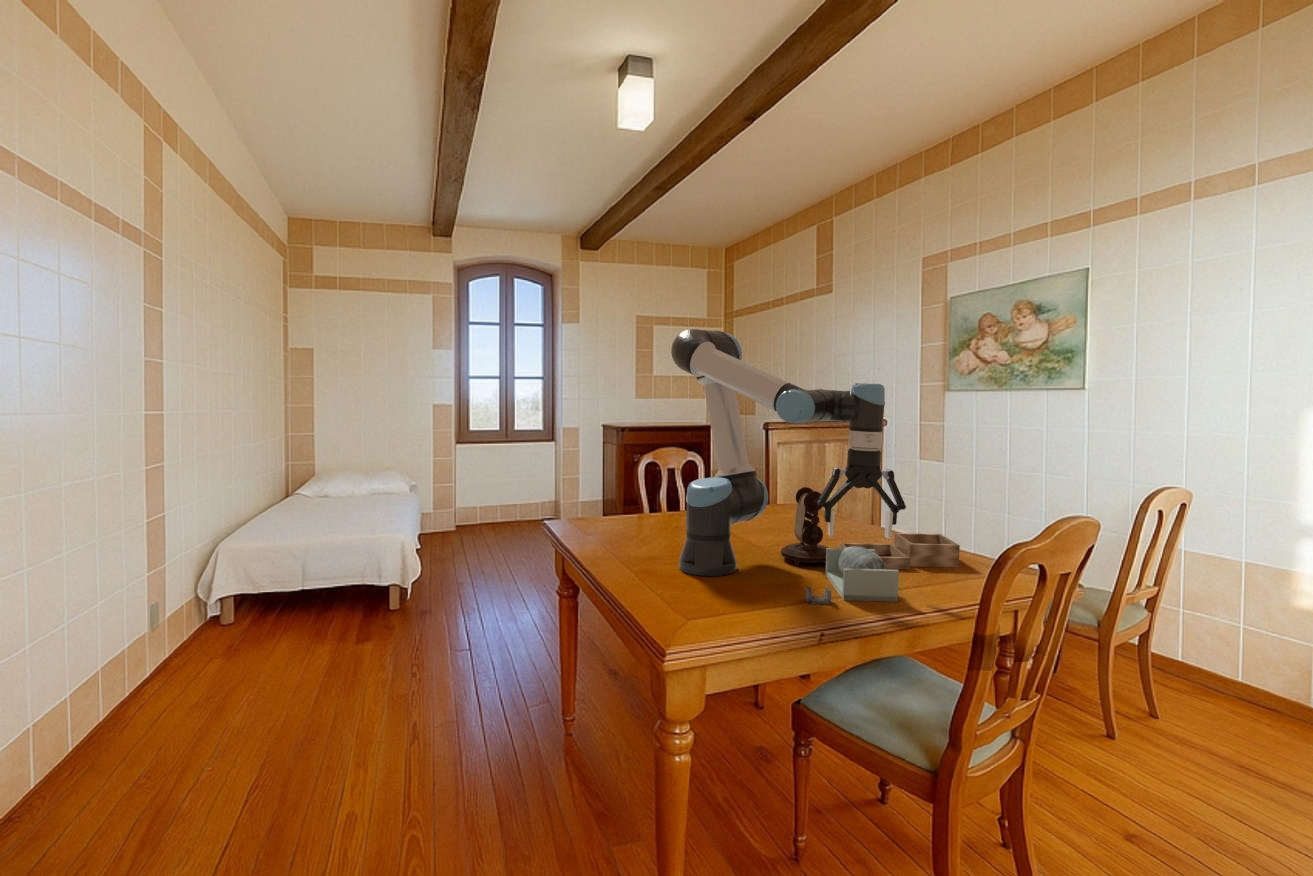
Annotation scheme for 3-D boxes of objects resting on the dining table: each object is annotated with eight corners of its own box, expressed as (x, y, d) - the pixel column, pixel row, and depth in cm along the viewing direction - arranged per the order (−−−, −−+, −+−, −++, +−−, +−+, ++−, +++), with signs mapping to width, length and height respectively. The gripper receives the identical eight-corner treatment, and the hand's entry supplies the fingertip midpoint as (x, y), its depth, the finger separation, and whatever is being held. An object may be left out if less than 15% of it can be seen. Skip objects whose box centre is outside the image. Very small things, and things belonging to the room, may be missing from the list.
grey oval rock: (900, 578, 144) (878, 539, 145) (864, 598, 143) (842, 558, 145) (878, 574, 158) (858, 539, 159) (845, 592, 157) (825, 556, 158)
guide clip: (808, 603, 140) (808, 590, 140) (805, 599, 143) (806, 586, 143) (830, 604, 140) (831, 591, 139) (827, 599, 142) (828, 586, 142)
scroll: (774, 553, 181) (775, 485, 180) (823, 552, 183) (825, 484, 181) (790, 568, 167) (792, 494, 165) (844, 567, 168) (846, 493, 167)
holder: (843, 600, 142) (844, 569, 142) (825, 575, 161) (826, 548, 161) (897, 601, 142) (898, 571, 141) (873, 576, 161) (874, 549, 160)
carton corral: (909, 566, 170) (910, 544, 169) (893, 553, 183) (894, 533, 182) (958, 567, 169) (959, 545, 169) (939, 554, 182) (940, 534, 182)
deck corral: (852, 567, 168) (852, 556, 168) (838, 553, 183) (839, 542, 182) (909, 569, 167) (910, 558, 167) (891, 554, 182) (891, 544, 182)
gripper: (814, 448, 146) (809, 538, 148) (924, 452, 144) (917, 543, 146) (808, 445, 153) (803, 530, 155) (912, 448, 152) (906, 534, 154)
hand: (859, 536), depth 151 cm, fingers open, 13 cm apart
